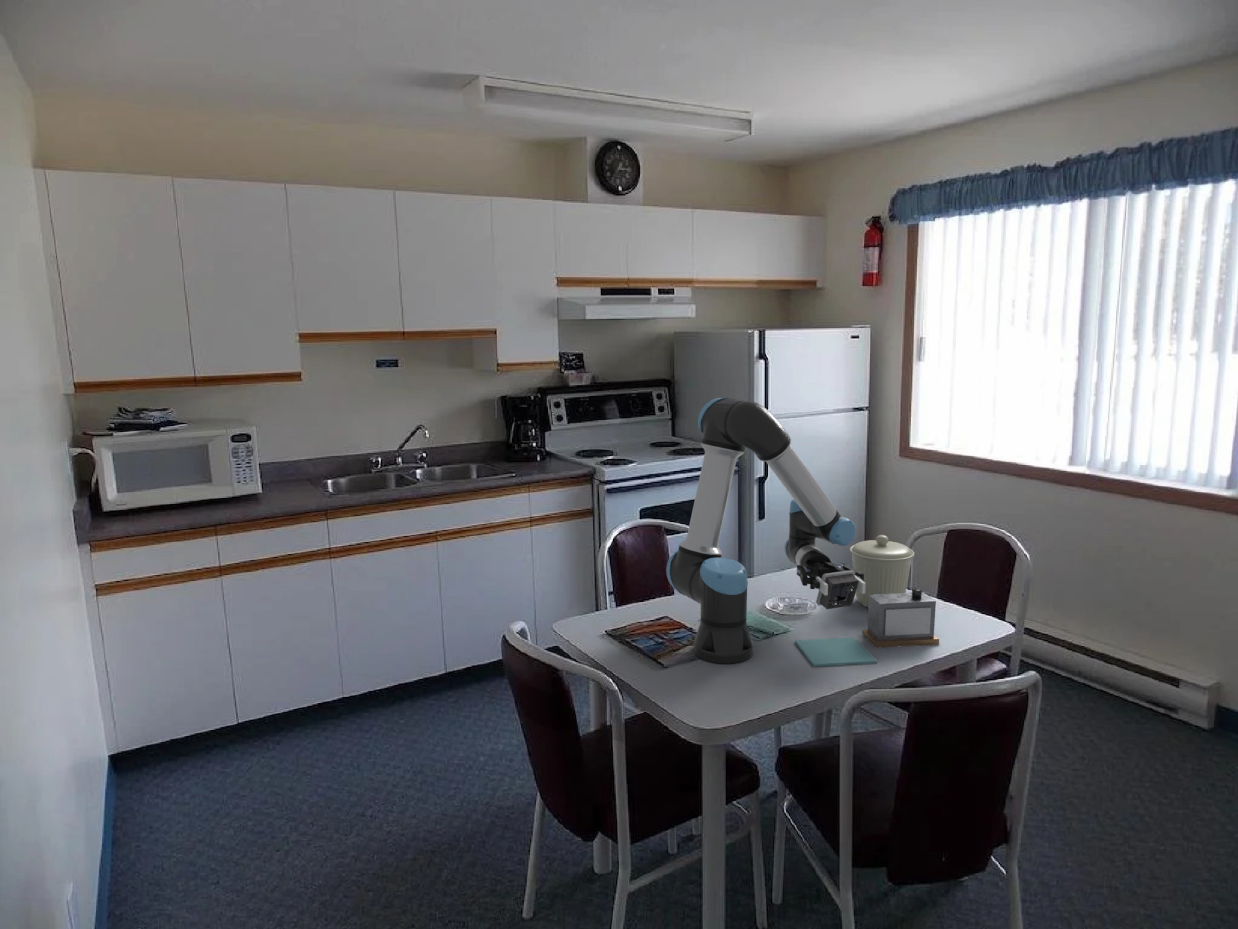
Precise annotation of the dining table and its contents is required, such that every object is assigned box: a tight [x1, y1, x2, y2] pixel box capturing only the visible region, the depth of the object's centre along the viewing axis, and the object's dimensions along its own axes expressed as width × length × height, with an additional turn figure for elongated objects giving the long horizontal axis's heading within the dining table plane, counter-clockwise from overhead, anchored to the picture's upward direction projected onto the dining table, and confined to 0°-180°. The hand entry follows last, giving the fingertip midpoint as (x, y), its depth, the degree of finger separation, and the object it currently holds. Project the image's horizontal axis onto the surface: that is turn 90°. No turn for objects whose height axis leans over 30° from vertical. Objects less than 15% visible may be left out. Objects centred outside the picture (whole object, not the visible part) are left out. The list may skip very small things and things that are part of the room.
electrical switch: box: [815, 570, 859, 610], centre depth 202 cm, size 9×5×9 cm, turn 110°
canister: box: [849, 534, 915, 608], centre depth 236 cm, size 18×18×21 cm
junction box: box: [861, 587, 940, 649], centre depth 210 cm, size 17×9×14 cm, turn 95°
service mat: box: [794, 636, 878, 668], centre depth 204 cm, size 16×15×1 cm
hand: (845, 589), depth 198 cm, fingers closed on electrical switch, 9 cm apart
